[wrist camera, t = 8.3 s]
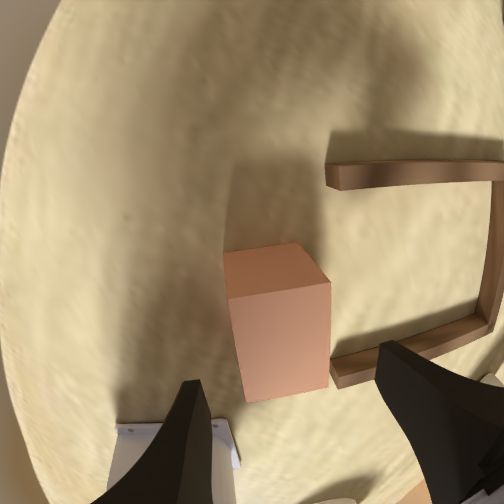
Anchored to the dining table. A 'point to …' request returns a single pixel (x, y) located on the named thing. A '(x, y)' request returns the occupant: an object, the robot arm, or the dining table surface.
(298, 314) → the block
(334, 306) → the dining table surface
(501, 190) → the frame
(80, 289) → the dining table surface
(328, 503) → the honey pot
